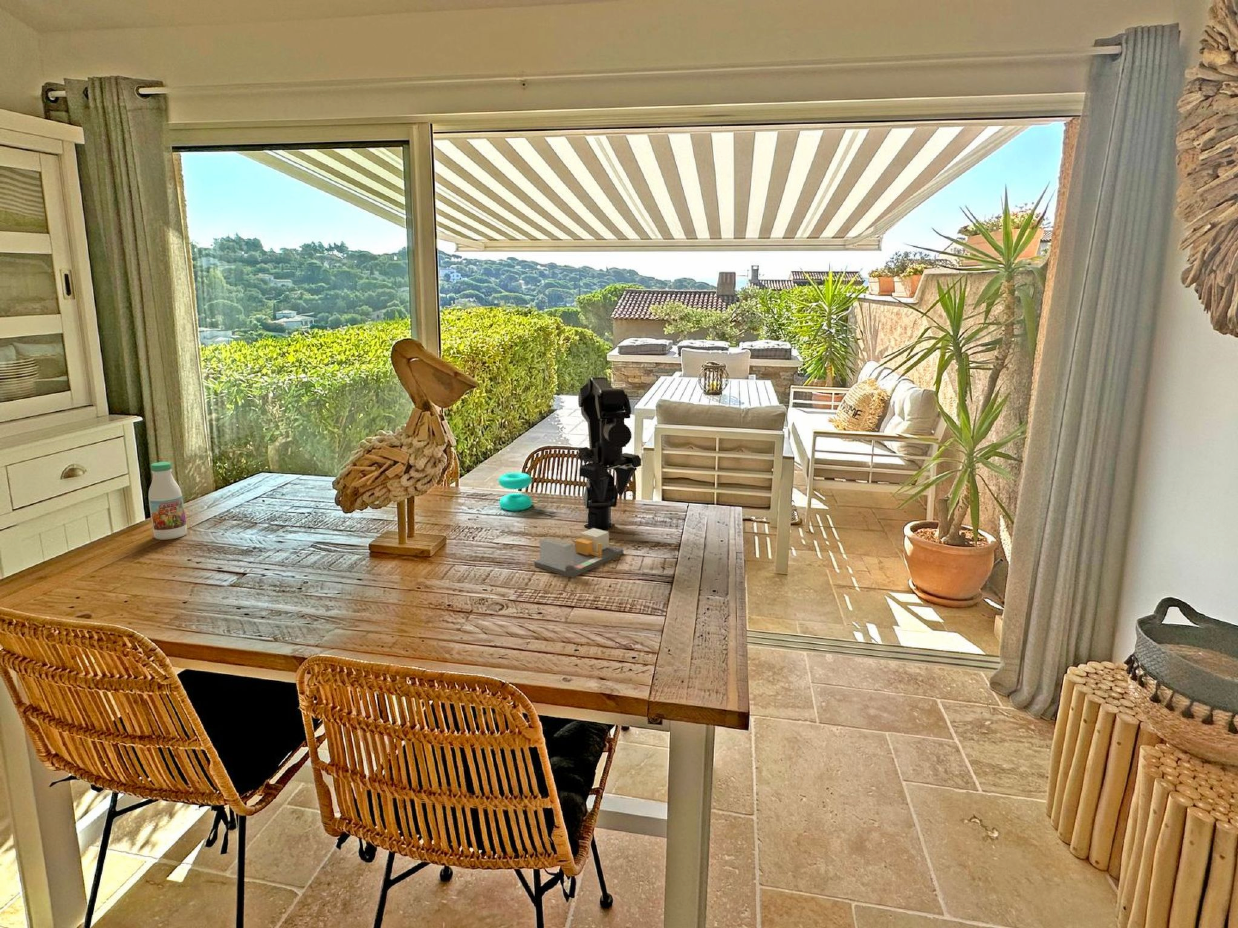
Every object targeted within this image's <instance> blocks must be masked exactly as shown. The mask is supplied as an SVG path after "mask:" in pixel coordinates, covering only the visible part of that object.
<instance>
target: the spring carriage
mask: <svg viewBox="0 0 1238 928" xmlns="http://www.w3.org/2000/svg"><path fill="white" fill-rule="evenodd" d="M580 538H581V539H585V540H588V541H592V551H593V552H598V544H599V543H602V550H603V549H605V548H607V547H609V546H610V542H609V541H610V531H607V530H604V531H603V530H599V529H595V528H592V529H590V528H589V529H588V530H586V531H583V532H581V533H580Z"/></svg>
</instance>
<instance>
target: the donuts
mask: <svg viewBox="0 0 1238 928" xmlns="http://www.w3.org/2000/svg"><path fill="white" fill-rule="evenodd" d="M532 481H533V480H532V477H531V475H529V473H528V474H527V473H526V472H508V473H505V474H502V475H500V476H499V478H498V484H499V485H500V486H501V487H503V488H504V489H507V490H521V489H524V488H527V487H529V486H530V485H531V483H532ZM498 504H499V507H500V508H501V509H503V510H505V511H511V512H512V511H519V512H520V511H524V510H526V509H529V508H530V507H532V505H533V499H532V497H530V496H529V495H527V494H524V493H518V492H517V493H508V494H506V495H503V496H502V497H501V498H500V499H499V502H498Z"/></svg>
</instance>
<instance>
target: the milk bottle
mask: <svg viewBox="0 0 1238 928" xmlns="http://www.w3.org/2000/svg"><path fill="white" fill-rule="evenodd" d="M150 470H151V473H152V481H151V483H150V485H149V489H148V497H147V498H148V507H149V512H150V519H151V525H152V526H151V527H152V532H153V537H154V538H155V539H156V540H174V539H178V538H181V537H184V536H186V535H187V533H188V528H187V527H188V526H187V518H186V511H185V504H184V499H183V495H182V494H183V493H182V489H181V488H180V485H179V484H178V483H177V481H176V480H175V478H174V476H173V474H172V471H173V470H172V463H171V462H169V461H160V462H154V463H151V464H150Z"/></svg>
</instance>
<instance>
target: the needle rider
mask: <svg viewBox="0 0 1238 928" xmlns="http://www.w3.org/2000/svg"><path fill="white" fill-rule="evenodd" d="M574 545H575V552H577V553H581V554H584V555H589V554H592V555H595V556H599V557H601V556H602V543H599V544H598V553H597V552H593V551H592V541H588V540H585V539H581V537H580V538H577V539H575V540H574Z"/></svg>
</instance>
